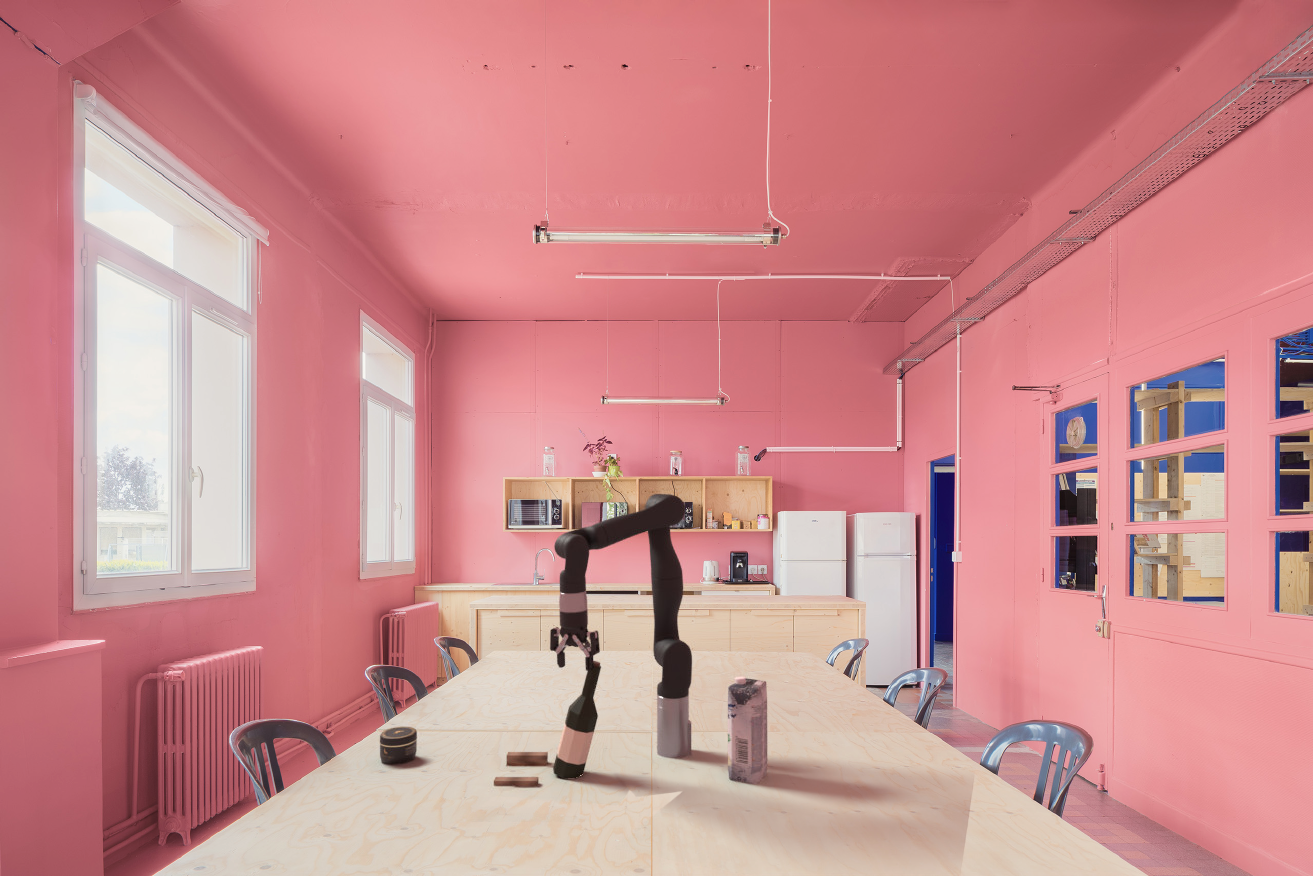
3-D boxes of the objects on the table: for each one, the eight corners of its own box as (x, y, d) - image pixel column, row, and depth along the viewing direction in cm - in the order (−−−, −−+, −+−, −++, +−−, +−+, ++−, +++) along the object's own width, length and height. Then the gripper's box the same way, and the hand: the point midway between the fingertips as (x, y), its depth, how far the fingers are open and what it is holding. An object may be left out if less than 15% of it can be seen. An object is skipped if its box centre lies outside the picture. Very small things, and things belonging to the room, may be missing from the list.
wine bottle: (577, 783, 196) (606, 669, 198) (548, 773, 198) (577, 660, 200) (586, 773, 204) (614, 664, 206) (558, 763, 206) (585, 655, 208)
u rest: (547, 762, 210) (547, 752, 210) (537, 793, 192) (537, 781, 192) (508, 762, 210) (508, 752, 210) (493, 793, 192) (493, 781, 192)
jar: (371, 763, 210) (371, 735, 210) (396, 750, 219) (396, 724, 220) (400, 769, 206) (400, 740, 207) (424, 755, 216) (424, 728, 216)
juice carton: (770, 777, 201) (769, 675, 202) (758, 793, 191) (757, 685, 192) (738, 771, 205) (737, 671, 205) (725, 786, 195) (724, 681, 196)
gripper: (603, 607, 203) (605, 667, 203) (558, 603, 209) (560, 662, 209) (588, 612, 196) (590, 675, 196) (543, 609, 203) (545, 669, 202)
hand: (575, 668), depth 203 cm, fingers open, 8 cm apart
